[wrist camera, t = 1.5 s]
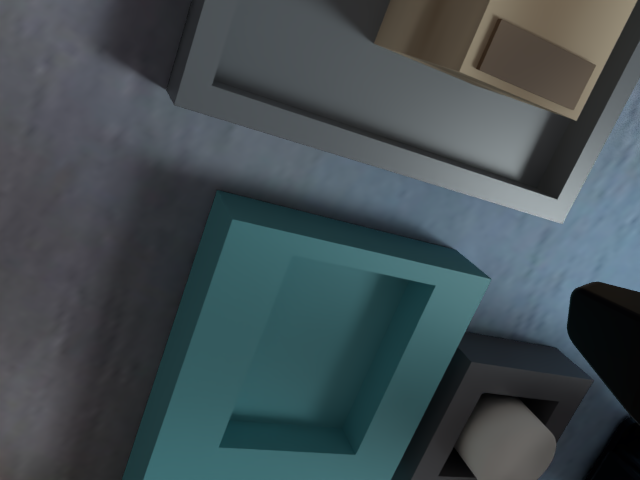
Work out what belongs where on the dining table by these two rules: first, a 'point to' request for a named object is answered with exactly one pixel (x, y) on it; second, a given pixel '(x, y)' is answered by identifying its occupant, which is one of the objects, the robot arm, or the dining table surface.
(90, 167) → the dining table surface
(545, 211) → the grey tray
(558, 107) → the block
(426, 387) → the teal block holder tray
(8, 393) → the dining table surface
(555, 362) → the button housing
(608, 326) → the robot arm
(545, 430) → the button
